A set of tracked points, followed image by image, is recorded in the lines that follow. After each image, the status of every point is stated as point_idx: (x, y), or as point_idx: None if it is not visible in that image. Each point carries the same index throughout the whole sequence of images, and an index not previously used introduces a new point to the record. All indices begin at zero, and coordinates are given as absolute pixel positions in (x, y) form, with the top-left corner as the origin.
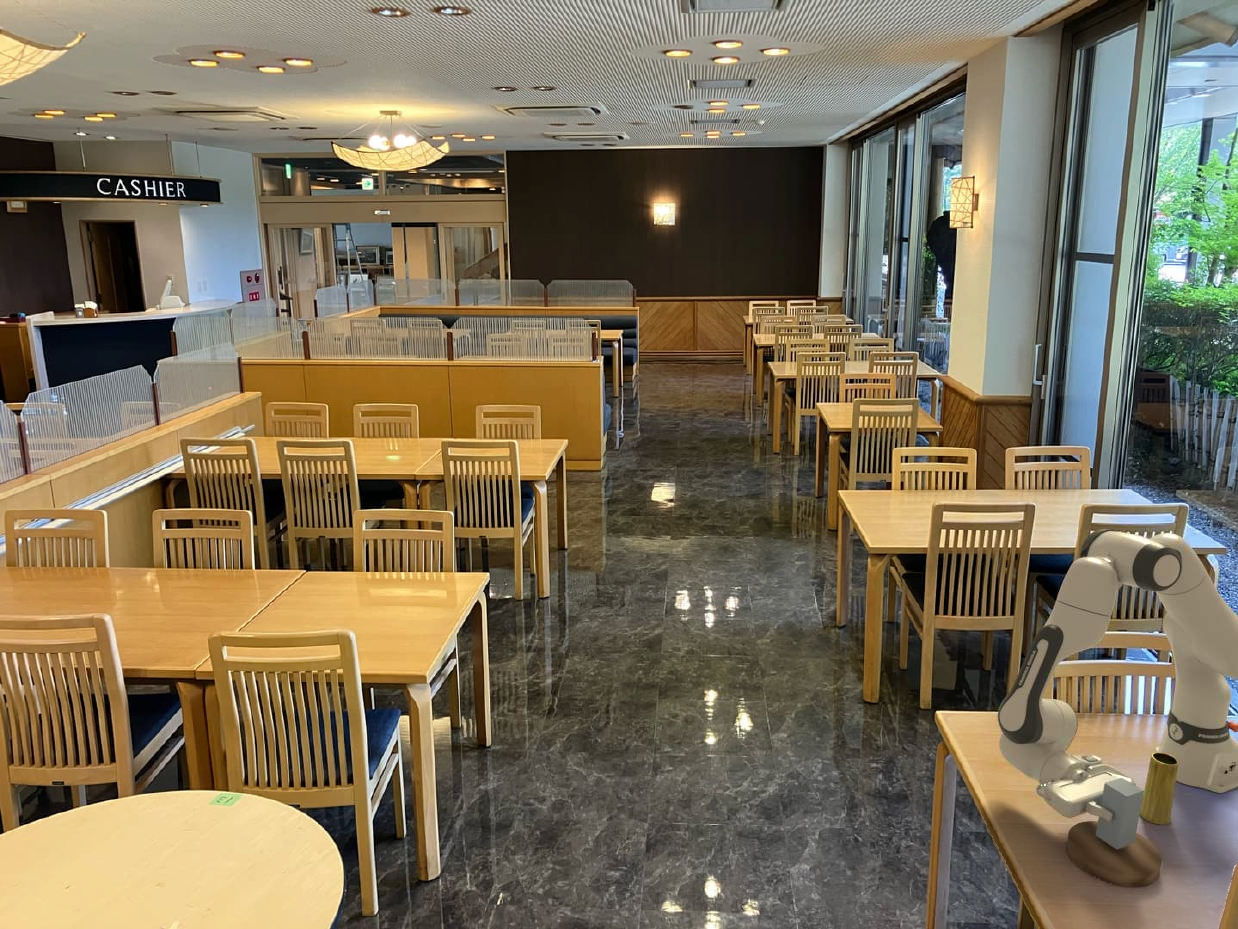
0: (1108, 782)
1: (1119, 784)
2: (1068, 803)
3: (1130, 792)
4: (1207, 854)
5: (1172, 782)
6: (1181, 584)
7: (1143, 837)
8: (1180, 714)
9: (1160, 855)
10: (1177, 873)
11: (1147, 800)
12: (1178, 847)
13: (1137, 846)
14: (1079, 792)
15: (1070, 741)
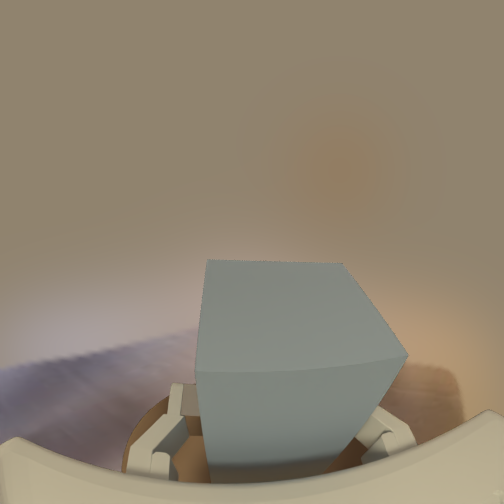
0: (378, 353)
1: (307, 321)
2: (497, 414)
3: (297, 269)
4: (44, 383)
5: None
6: None
7: (127, 454)
8: None
9: (164, 399)
10: (148, 392)
11: None
12: (58, 422)
13: (184, 443)
14: (445, 485)
15: None
